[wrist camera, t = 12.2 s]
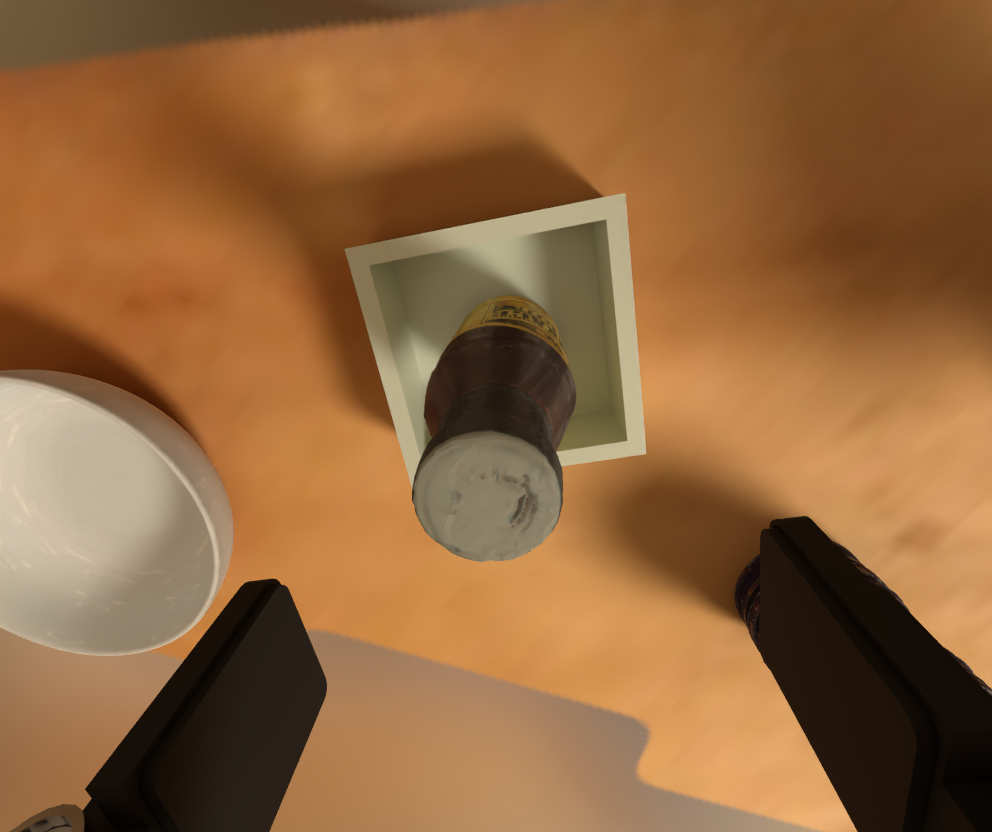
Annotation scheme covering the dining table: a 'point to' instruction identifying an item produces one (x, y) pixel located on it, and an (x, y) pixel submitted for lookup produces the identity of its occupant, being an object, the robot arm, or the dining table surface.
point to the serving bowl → (103, 518)
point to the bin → (521, 272)
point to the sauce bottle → (495, 433)
